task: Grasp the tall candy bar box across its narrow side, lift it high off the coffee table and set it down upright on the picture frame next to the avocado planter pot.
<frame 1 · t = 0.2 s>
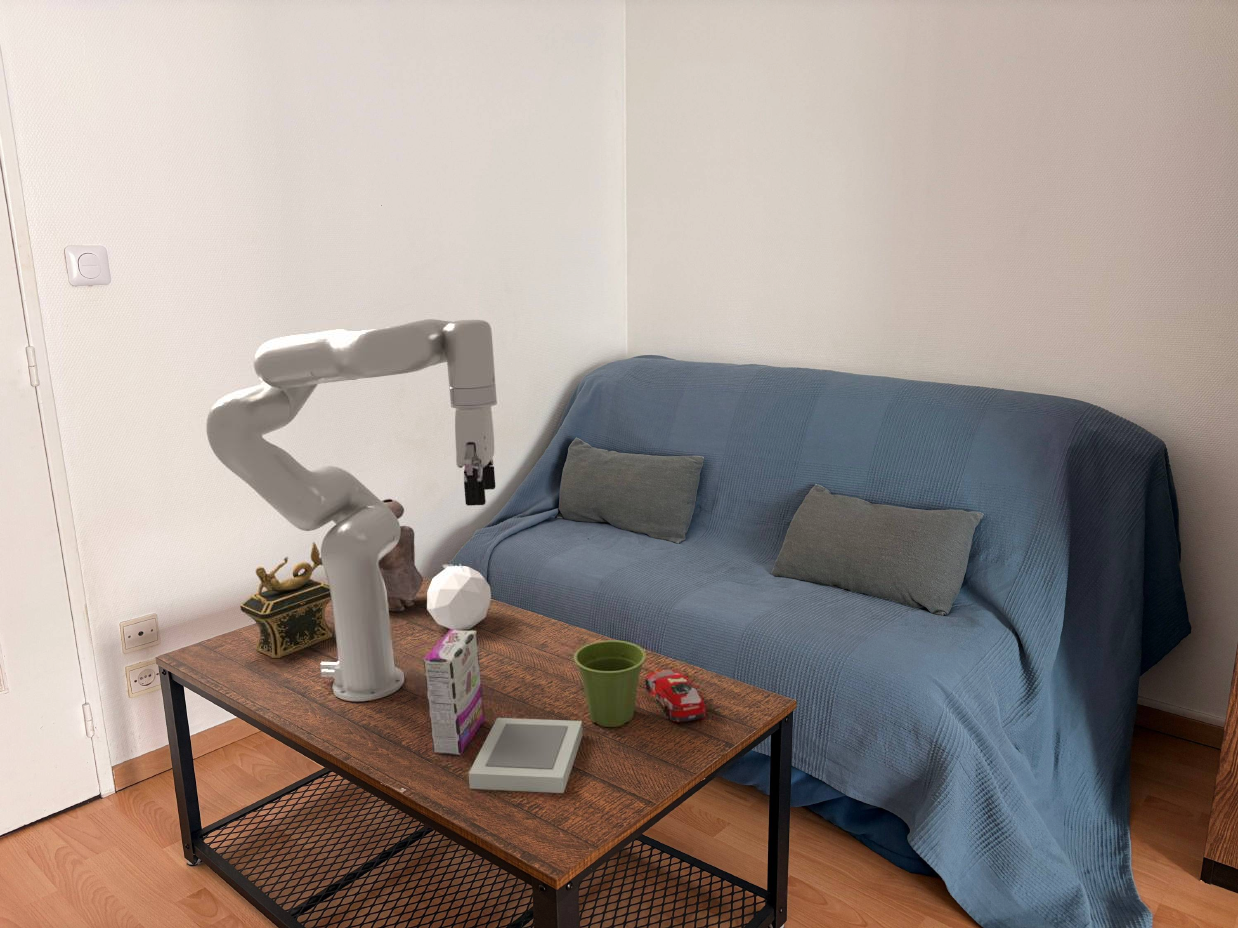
hand: (481, 496, 154), 36 cm above the table, tool pointing down, fingers open, 9 cm apart
decorative box: (302, 641, 187), on the table
race car: (675, 704, 157), on the table
picture frame: (528, 760, 140), on the table
plant pot: (612, 718, 152), on the table
geodesic sphere: (461, 627, 191), on the table
clay figurine: (399, 608, 202), on the table
candy bar box: (459, 737, 148), on the table
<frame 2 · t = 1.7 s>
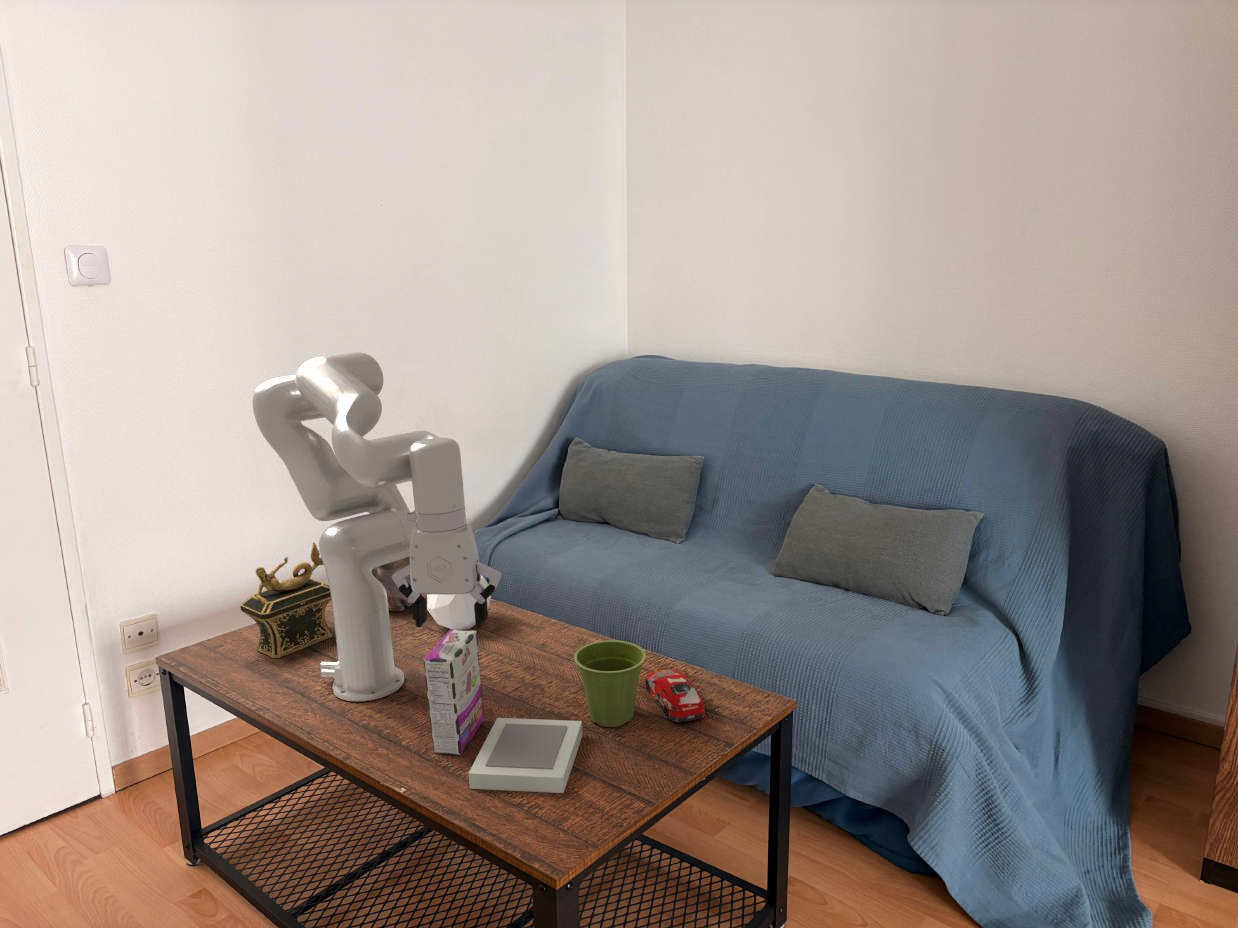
hand: (451, 624, 143), 20 cm above the table, tool pointing down, fingers open, 9 cm apart
nothing on the table moved.
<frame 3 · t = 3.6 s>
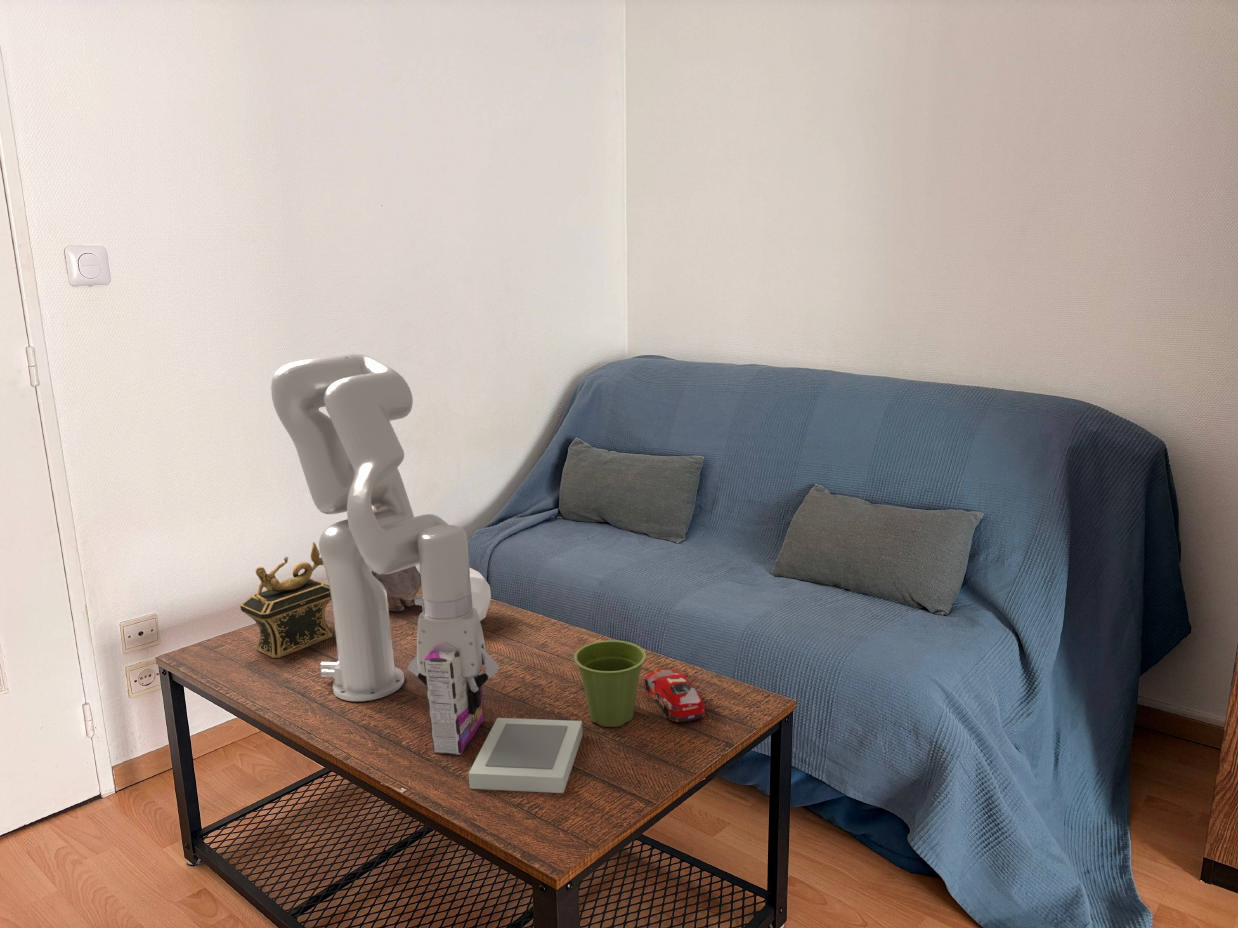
hand: (456, 708, 147), 5 cm above the table, tool pointing down, fingers closed on candy bar box, 5 cm apart
candy bar box: (459, 737, 148), on the table, touching gripper
everything else where it was.
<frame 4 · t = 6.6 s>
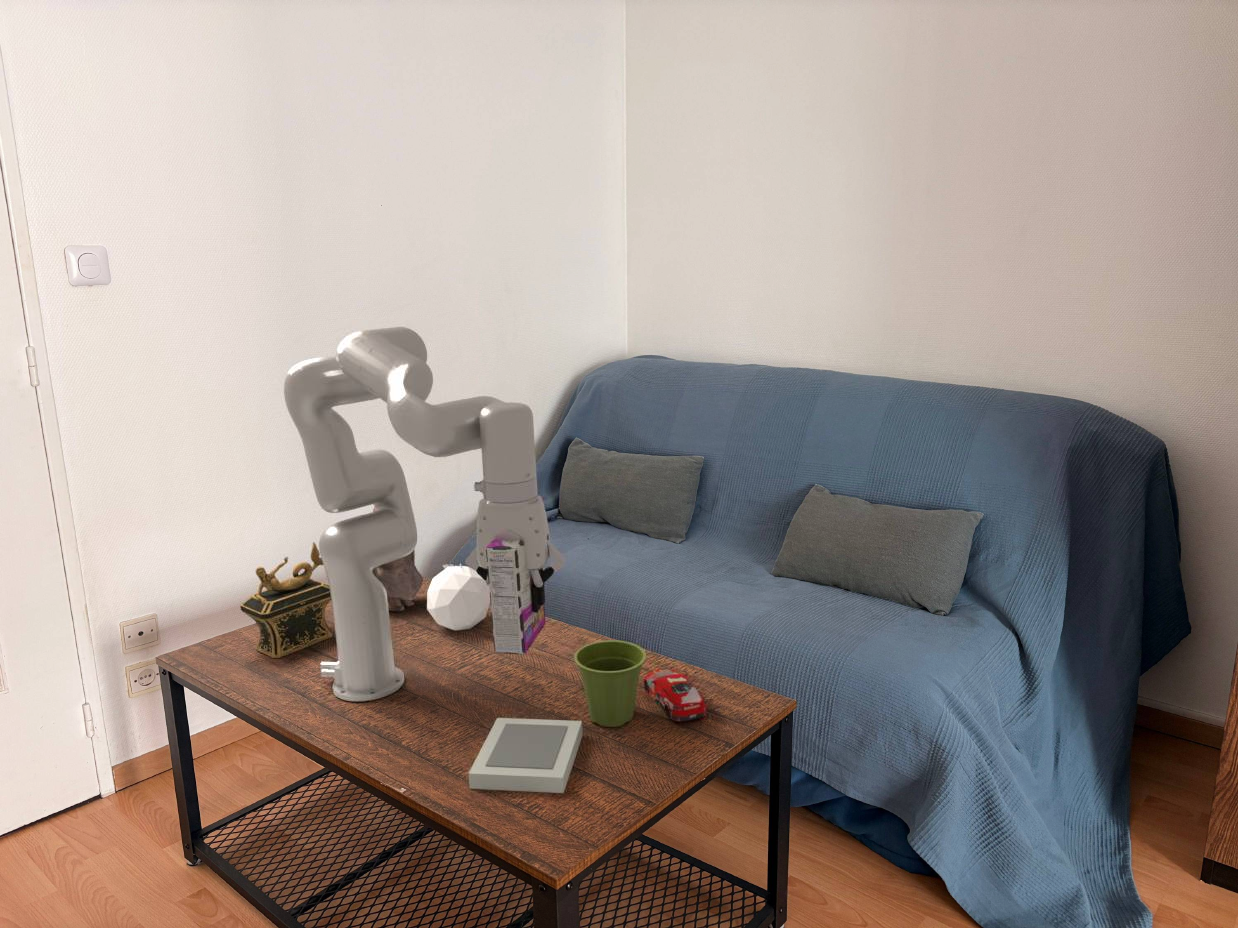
hand: (518, 607, 134), 25 cm above the table, tool pointing down, fingers closed on candy bar box, 5 cm apart
candy bar box: (520, 639, 136), point 20 cm above the table, touching gripper
everything else where it was.
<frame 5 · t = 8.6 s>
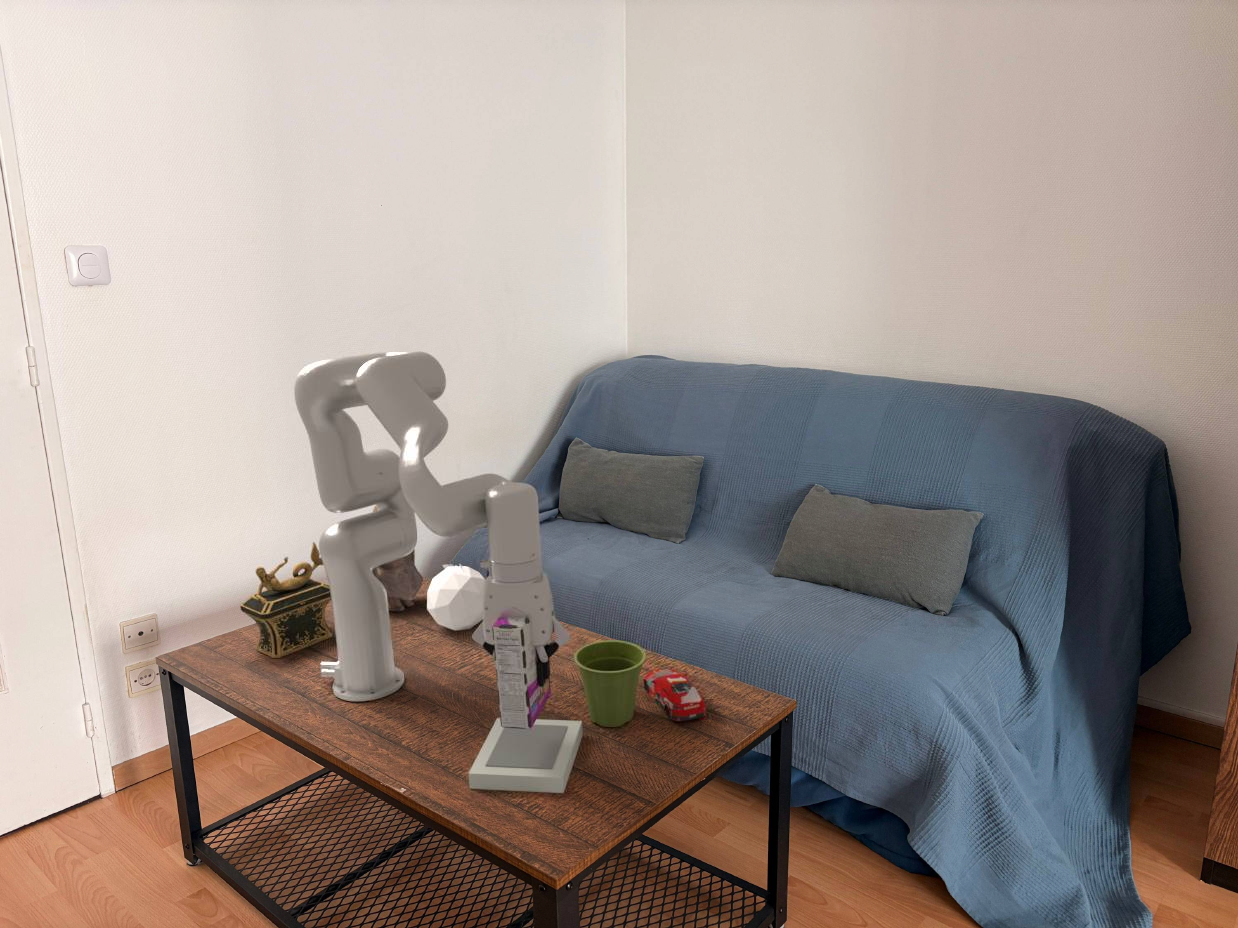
hand: (524, 680, 137), 13 cm above the table, tool pointing down, fingers closed on candy bar box, 5 cm apart
candy bar box: (525, 712, 138), point 8 cm above the table, touching gripper
everything else where it was.
when the fingers open (9 cm above the table, at t = 10.0 s): candy bar box drops 1 cm, resting on picture frame.
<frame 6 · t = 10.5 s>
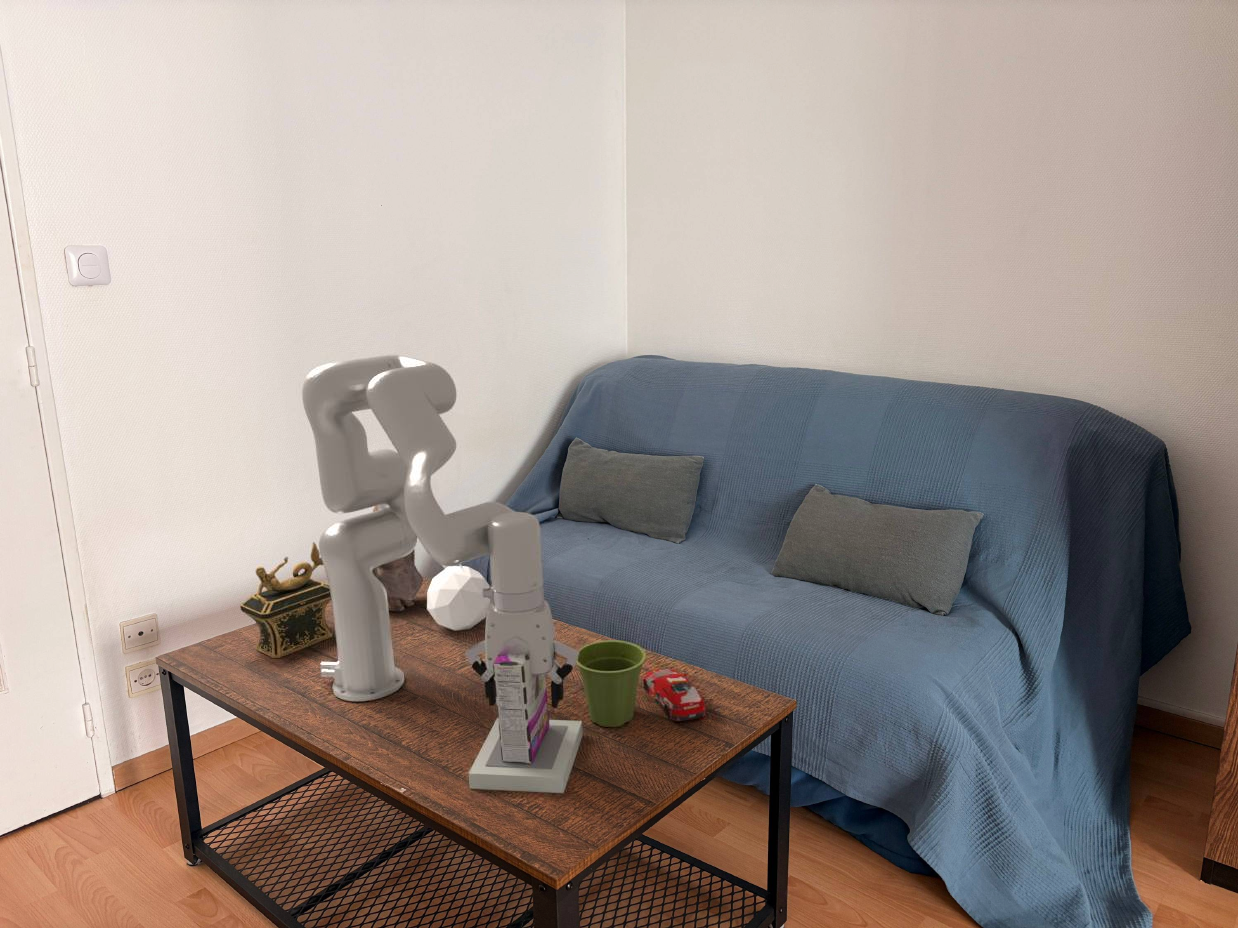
hand: (525, 702, 138), 10 cm above the table, tool pointing down, fingers open, 9 cm apart
candy bar box: (525, 745, 140), point 3 cm above the table, touching picture frame
everything else where it was.
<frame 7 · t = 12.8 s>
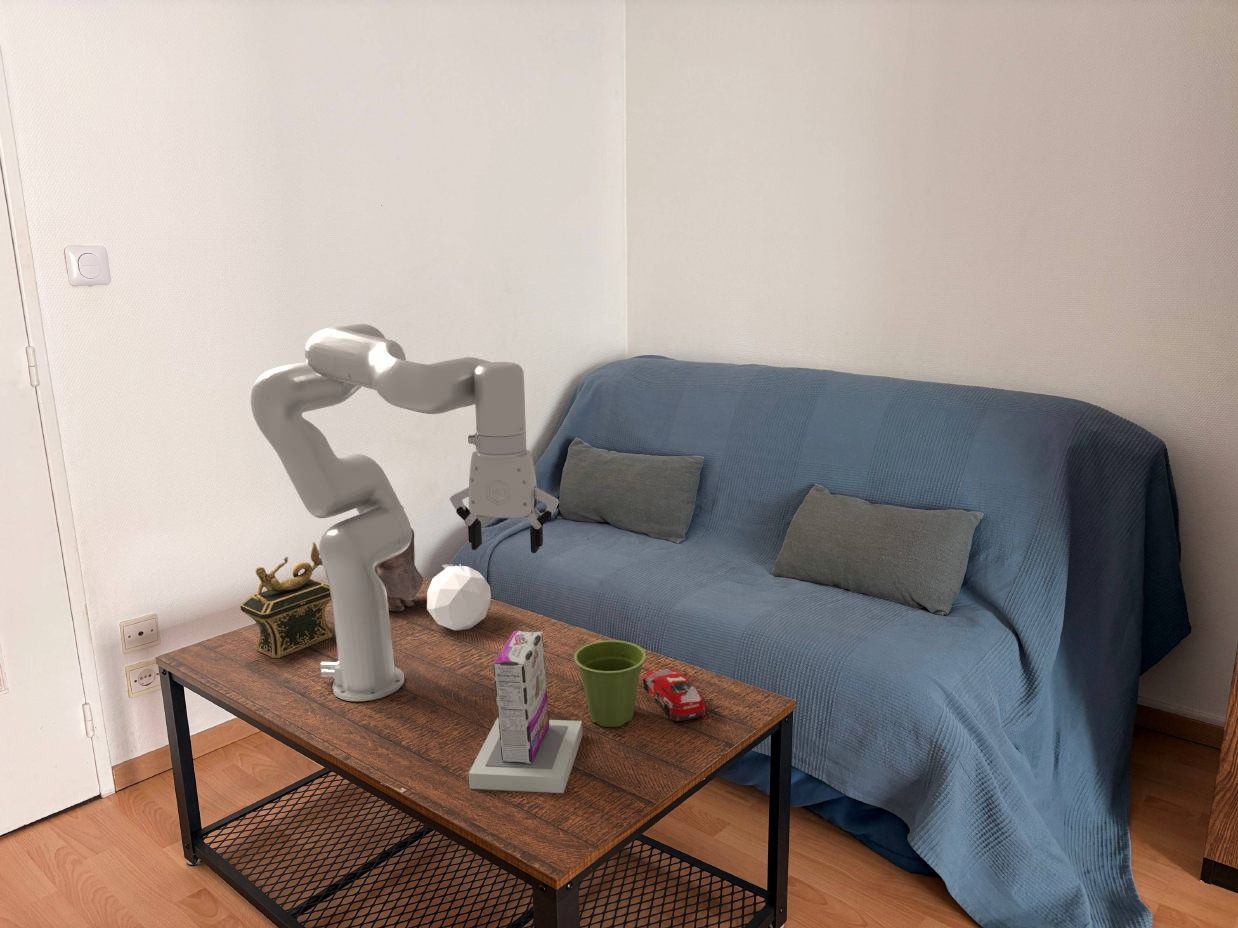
hand: (506, 548, 144), 30 cm above the table, tool pointing down, fingers open, 9 cm apart
nothing on the table moved.
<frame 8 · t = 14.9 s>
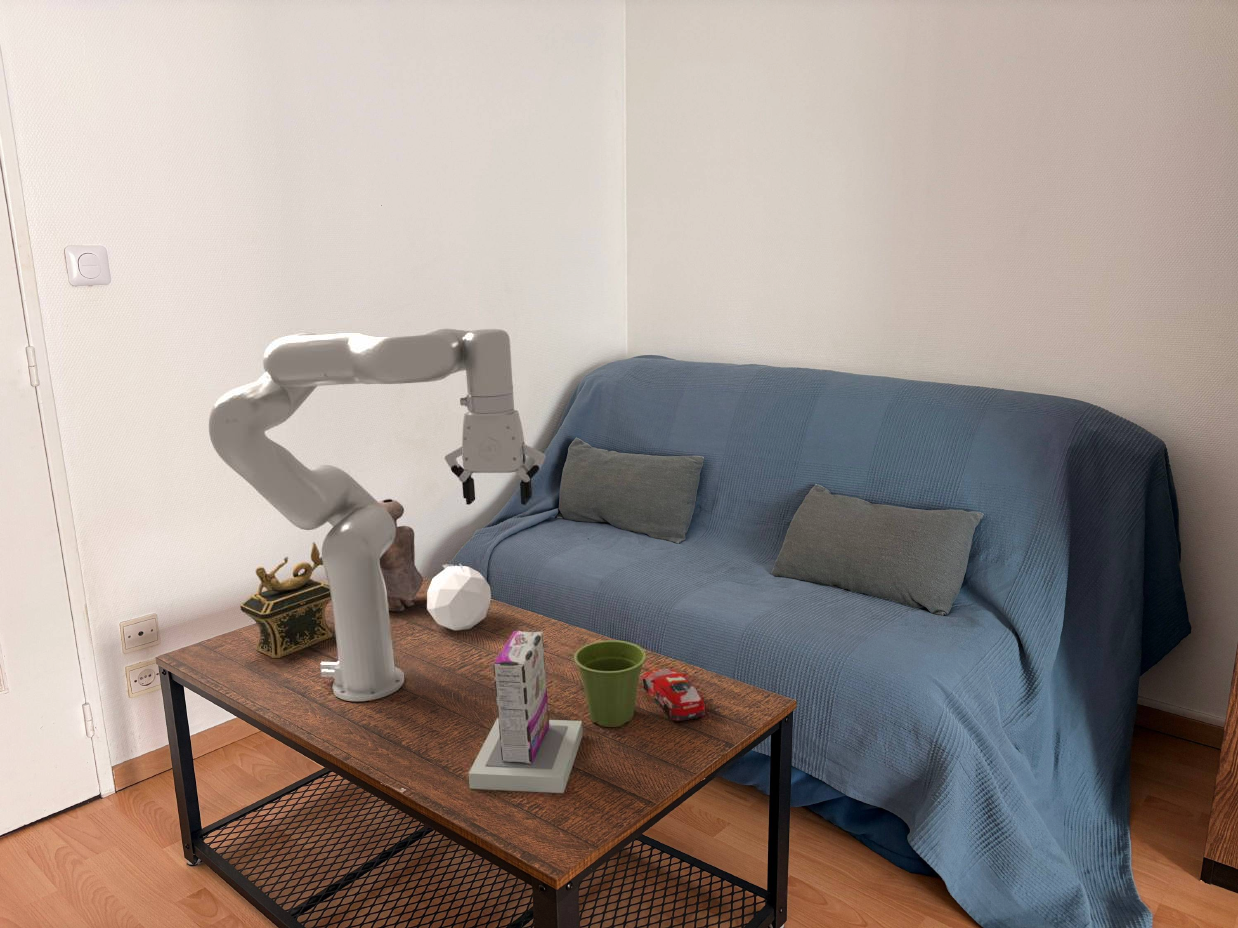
hand: (498, 502, 156), 34 cm above the table, tool pointing down, fingers open, 9 cm apart
nothing on the table moved.
at the end: candy bar box inside the target area on the picture frame (0.4 cm from its centre), point 2.5 cm above the picture frame's base; candy bar box tilted 0°; the gripper is holding nothing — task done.
